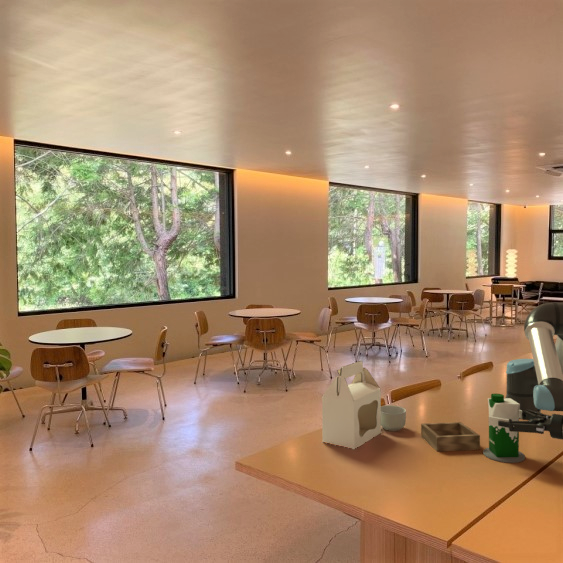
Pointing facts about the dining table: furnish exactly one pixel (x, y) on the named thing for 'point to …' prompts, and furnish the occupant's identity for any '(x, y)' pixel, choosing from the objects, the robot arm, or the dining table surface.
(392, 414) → the teacup
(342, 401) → the gable box
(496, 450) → the soya milk
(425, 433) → the walnut crate
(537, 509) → the dining table surface
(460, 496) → the dining table surface
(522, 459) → the grey coaster
